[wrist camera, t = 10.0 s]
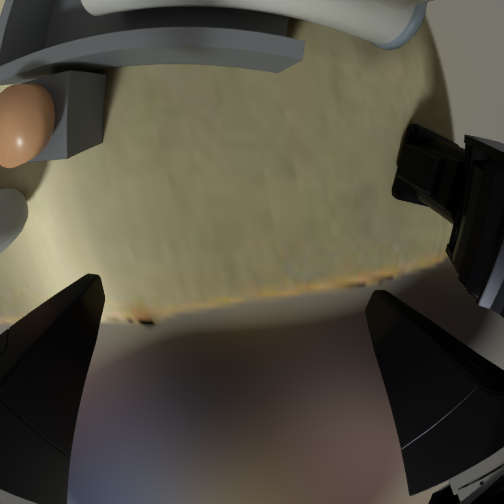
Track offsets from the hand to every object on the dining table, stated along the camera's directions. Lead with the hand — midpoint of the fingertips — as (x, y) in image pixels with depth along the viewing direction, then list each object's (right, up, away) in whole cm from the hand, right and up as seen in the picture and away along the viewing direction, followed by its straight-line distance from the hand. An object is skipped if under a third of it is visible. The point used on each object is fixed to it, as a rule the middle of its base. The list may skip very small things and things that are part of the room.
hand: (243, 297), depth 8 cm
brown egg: (-12, +10, +4) cm, 17 cm away
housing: (-6, +16, +3) cm, 18 cm away
